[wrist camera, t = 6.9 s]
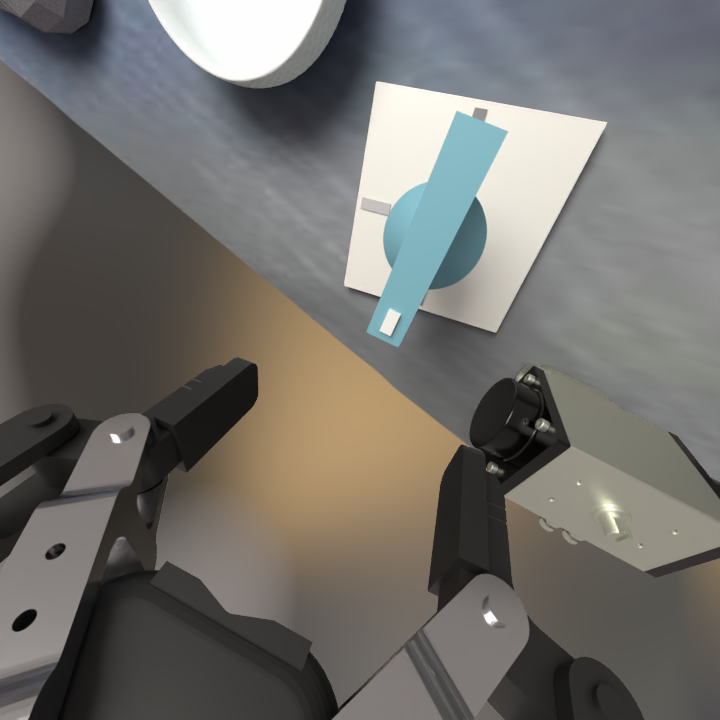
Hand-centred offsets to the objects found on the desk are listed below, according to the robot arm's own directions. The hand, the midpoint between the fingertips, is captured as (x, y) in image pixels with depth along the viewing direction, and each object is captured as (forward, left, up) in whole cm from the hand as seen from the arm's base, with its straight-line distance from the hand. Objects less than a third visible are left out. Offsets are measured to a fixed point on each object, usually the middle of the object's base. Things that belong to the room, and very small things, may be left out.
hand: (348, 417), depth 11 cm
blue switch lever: (0, -4, -17) cm, 18 cm away
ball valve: (-18, +10, -25) cm, 33 cm away
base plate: (0, -4, -25) cm, 26 cm away
